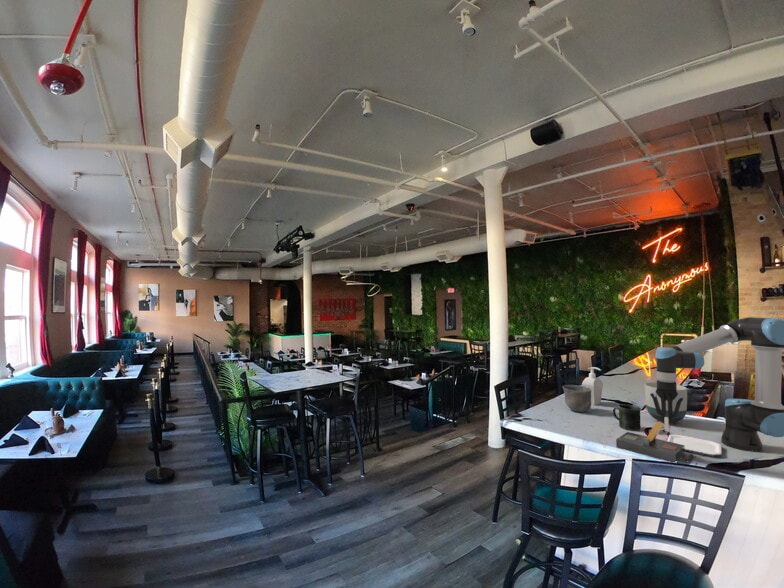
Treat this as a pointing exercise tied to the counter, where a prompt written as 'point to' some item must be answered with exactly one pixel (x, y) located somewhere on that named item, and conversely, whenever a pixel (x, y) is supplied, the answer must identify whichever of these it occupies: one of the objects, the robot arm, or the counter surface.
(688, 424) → the counter surface
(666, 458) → the panel
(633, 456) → the counter surface
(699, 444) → the plate
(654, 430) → the lever
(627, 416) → the mug
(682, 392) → the planter
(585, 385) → the soap bottle
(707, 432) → the counter surface
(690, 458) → the cord
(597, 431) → the counter surface
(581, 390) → the cup
